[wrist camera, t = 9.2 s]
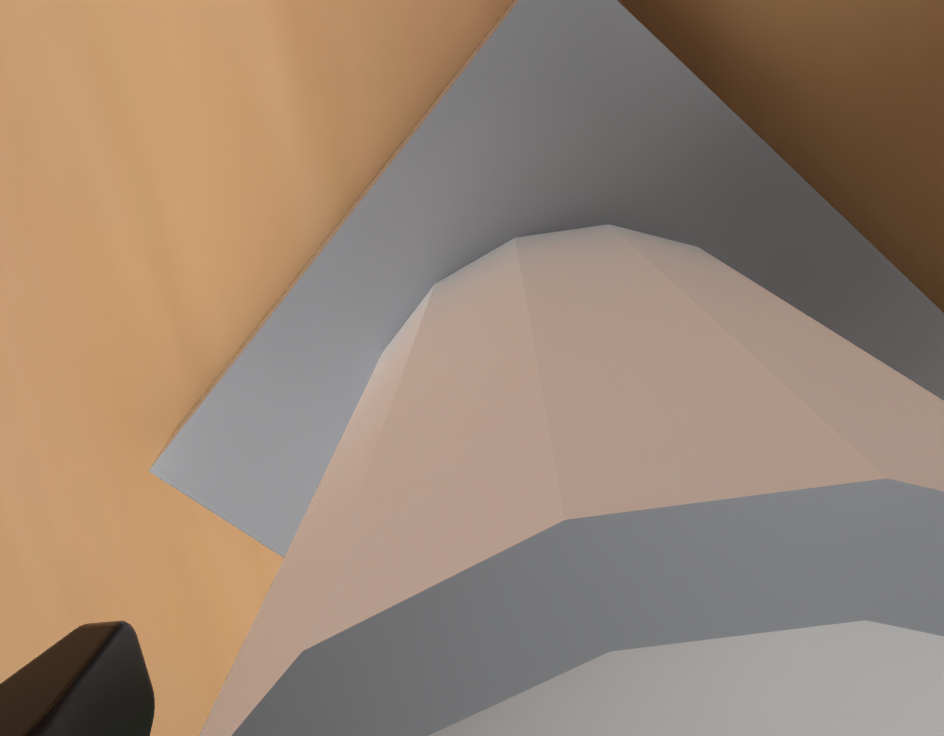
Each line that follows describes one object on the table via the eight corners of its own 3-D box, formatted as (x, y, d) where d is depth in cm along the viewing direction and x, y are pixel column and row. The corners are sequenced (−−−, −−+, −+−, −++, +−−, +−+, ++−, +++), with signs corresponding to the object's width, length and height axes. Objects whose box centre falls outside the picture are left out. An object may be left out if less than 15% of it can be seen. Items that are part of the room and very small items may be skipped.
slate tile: (993, 369, 12) (1029, 394, 11) (591, 719, 14) (598, 759, 13) (553, -50, 10) (561, -54, 9) (167, 441, 12) (148, 471, 11)
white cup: (630, 37, 9) (1005, 133, 3) (953, 454, 11) (1587, 1046, 5) (203, 423, 11) (-150, 1013, 5) (549, 725, 13) (637, 1423, 7)
